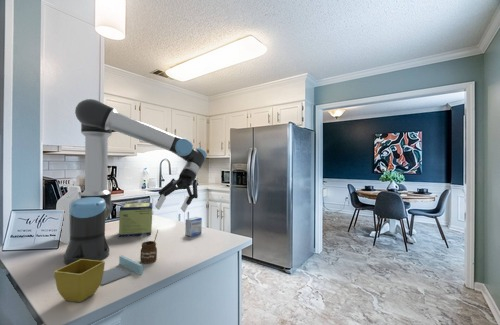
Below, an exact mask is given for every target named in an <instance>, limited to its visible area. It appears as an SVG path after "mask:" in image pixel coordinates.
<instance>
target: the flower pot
mask: <svg viewBox="0 0 500 325" xmlns="http://www.w3.org/2000/svg"><path fill="white" fill-rule="evenodd" d="M105 265H106V261H105V260H100V261H97V260H87V259H80V260H78V261H75V262H73V263H71V264H69V265H67V264H66V265H65V266H63V267H60V268H58V269H56V270H54V271H53V273H54V278H55V279H54V280H55V285H56V289H57V291H58V294H59V296H61V298H63V299H64V300H65V301H66V302H67V301H69V302H78V303H82V302H83V301H86V299H88V298H90V296H92V295H93V294H95V293H96V292H97V290H98V289H99V288H100V286H101V285H100V283H101V281H102V278H103V272H104V271H105Z"/></svg>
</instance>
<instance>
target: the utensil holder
mask: <svg viewBox="0 0 500 325" xmlns="http://www.w3.org/2000/svg"><path fill="white" fill-rule="evenodd" d="M158 232H159V229H157V231H156V234H155V237H154V240H148V239H149V238H148V236H146V238H145V240H146V241H144V239H143V238H141V242H142V243H141V249H140V254H139V255H140V257H139V259H140V263H141V264H151V263H152V264H153V263H154V262H156V260H157V256H158V255H157V254H158V248H157V243H156V239H157V236H158ZM145 234H146V233H145ZM141 235H142V234H141ZM142 237H145V235H143V236H142Z"/></svg>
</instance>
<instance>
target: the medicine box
mask: <svg viewBox="0 0 500 325" xmlns="http://www.w3.org/2000/svg"><path fill="white" fill-rule="evenodd" d="M202 221H203V219H202V217H200V216H195V217H194V216H193V217H190V218H186V219H185V228H184V229H185V234H184V235H185V236H188V237H194V236H197V235H200V234H202V229H203V228H202V225H203V222H202Z"/></svg>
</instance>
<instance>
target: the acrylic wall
mask: <svg viewBox="0 0 500 325" xmlns="http://www.w3.org/2000/svg"><path fill="white" fill-rule="evenodd" d="M118 258H119V260H118V261H119V263H118V264H119V265H121V266H122V267H124V268H126V269H128V270H130V271H132V272H134V273H136V274H137V275H142V274H144V272H143V270H144V269H143V268H144V266H143V263H141V262H140V263H139V262H137V261H136V260H133V259H132V258H129V257H126V256H124V255H119V257H118Z"/></svg>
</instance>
